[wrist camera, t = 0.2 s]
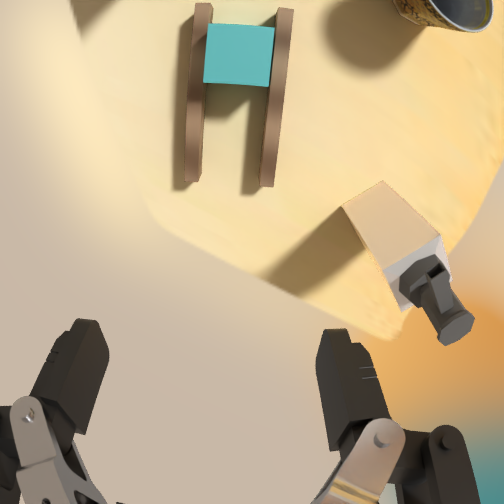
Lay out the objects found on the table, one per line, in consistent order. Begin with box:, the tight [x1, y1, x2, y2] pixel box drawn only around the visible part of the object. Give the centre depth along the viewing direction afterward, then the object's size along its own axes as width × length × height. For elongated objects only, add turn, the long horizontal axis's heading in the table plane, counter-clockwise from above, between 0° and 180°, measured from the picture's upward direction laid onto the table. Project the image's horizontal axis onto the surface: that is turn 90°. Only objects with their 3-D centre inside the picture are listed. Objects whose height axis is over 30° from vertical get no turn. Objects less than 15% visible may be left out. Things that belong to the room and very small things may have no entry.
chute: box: [185, 3, 294, 187], centre depth 30 cm, size 20×10×3 cm, turn 175°
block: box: [203, 23, 275, 87], centre depth 26 cm, size 6×6×6 cm
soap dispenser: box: [341, 181, 475, 346], centre depth 29 cm, size 6×9×22 cm
